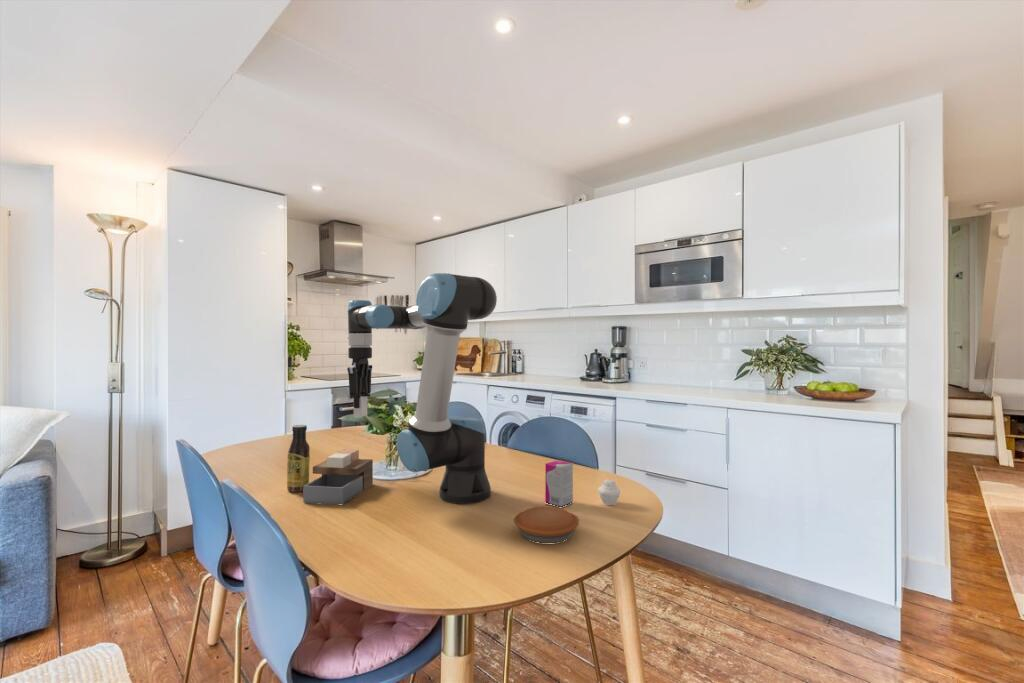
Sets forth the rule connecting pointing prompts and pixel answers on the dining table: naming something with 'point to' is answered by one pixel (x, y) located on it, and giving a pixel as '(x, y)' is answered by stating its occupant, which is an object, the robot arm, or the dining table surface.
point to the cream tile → (338, 460)
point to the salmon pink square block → (353, 454)
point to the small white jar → (609, 492)
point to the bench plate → (350, 470)
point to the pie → (546, 524)
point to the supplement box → (559, 483)
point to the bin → (332, 489)
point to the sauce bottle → (298, 460)
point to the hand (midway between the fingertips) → (360, 416)
